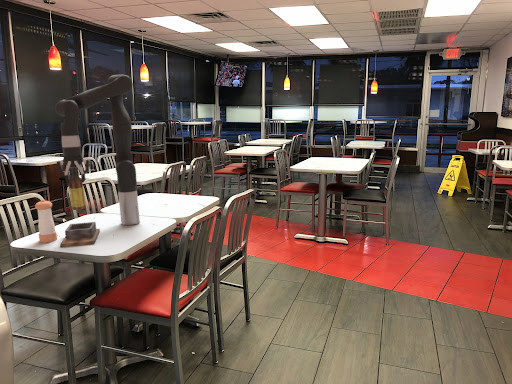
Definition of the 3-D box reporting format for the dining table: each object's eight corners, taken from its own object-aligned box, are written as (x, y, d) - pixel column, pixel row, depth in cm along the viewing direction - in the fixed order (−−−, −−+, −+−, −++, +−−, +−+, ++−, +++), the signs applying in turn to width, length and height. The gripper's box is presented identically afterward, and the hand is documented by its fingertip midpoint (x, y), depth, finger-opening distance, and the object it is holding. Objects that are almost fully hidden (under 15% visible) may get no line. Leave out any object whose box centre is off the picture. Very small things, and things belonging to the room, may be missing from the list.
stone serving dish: (99, 231, 201) (98, 220, 200) (94, 243, 182) (93, 231, 181) (69, 234, 197) (67, 223, 196) (60, 247, 178) (59, 235, 177)
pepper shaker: (52, 236, 194) (47, 197, 190) (59, 239, 190) (54, 199, 186) (36, 240, 189) (31, 200, 185) (43, 243, 184) (38, 202, 180)
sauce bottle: (78, 207, 193) (73, 165, 189) (89, 207, 191) (84, 165, 187) (68, 210, 187) (62, 167, 183) (79, 211, 185) (74, 167, 181)
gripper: (89, 144, 188) (93, 180, 192) (56, 145, 185) (60, 182, 188) (87, 145, 181) (91, 183, 185) (52, 147, 178) (57, 185, 181)
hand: (75, 182), depth 186 cm, fingers closed on sauce bottle, 5 cm apart
